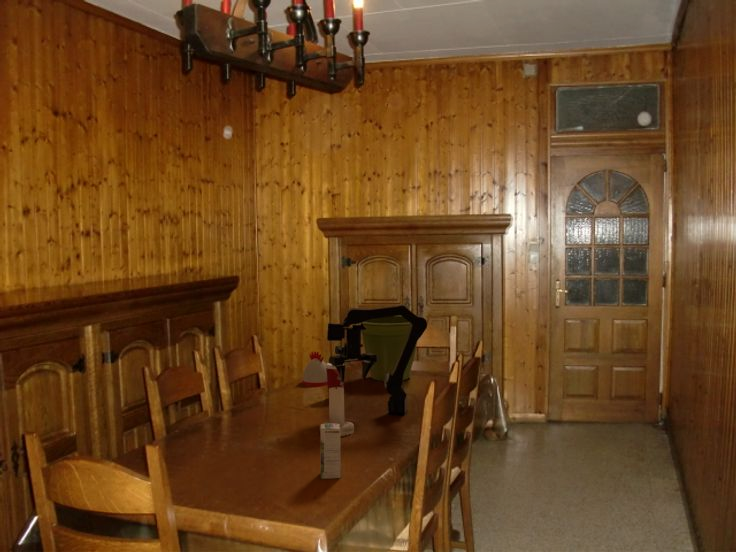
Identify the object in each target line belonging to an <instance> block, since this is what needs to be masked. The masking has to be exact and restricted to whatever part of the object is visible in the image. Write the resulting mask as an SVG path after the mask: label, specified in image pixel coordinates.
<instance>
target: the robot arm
mask: <svg viewBox="0 0 736 552" xmlns="http://www.w3.org/2000/svg"><path fill="white" fill-rule="evenodd" d="M345 316H346V317H345V318H344V319H343V320H342V322H341V323H333V322H328V323H327V330H326V331H327V332H326V340H327V342H342V341H343V340H344V339H345V338H346V340H345V342H344V344H343V346H341V345H336V346H334V349H335V350H334V355H330V356H329V358H328V363H330V364H332V365H333V366H335V367H336V369H337V371H338V373H339V376H340V379H341V382H343V383H344V382H345V373H346V365H345V363H350V362H351V363H352V362H360V361H361V365H362V367H361V368H362V371H361V378H362V381H365V380H366V378H367V376H368V373H369V372H370V368H371V367H372V365H373V364H375V363H374V362H378V357H377V355H376V354H373V353H366V352H364V353H362V348H363V346H364V343H362V332H361V330H366V327H365V326H364V325H363V323H362V322H365V321H367V320H370V319H375V318H383V317H391V316H402V317H404V318H405V319H406V320H407V321H409V322H410V325H409V331H408V337H407V339H406V342H405V344H404V347H403V349H402V351H401V354H400V356H399V359H398V361H397V363H396V366H395V368H394V370H393V371H392V372H391V373H390V372H387V376H386V378H385V380H384V381H383V382H384V388H385V390H386V392H387V394H388V395H390V396H389V399H388V401H387V415H395V416H404V415H406V414H407V413H408V412H409V410H408V405H407V404H408V402H407V398H408V397H407V395H408V394H407V392H406V391H405V389H404V388H403V387H402V385H403V381H404V380H403V375H404V372H405V369H406V367H407V365H408V362H409V360H410V357H411V355H412V352H413V350H414V348H415V345H416V343H417V344H418V341H419V340H420V338H421V337H422V336H423V334H424V333H425V332H426V330H427V328H428V321H427V320H426V318H424V317H423V316H422V315H418V314H417V315H416V314H414V313H413V312H412V311H411V310H410V309H408V308H407V307H406V305H404V304H398V305H392V306H383V307H377V308H376V307H375V308H364V307H363V308H361V307H350V308H349V309H348V310H347V312H346V315H345ZM345 332H346V333H345ZM343 364H344V365H343Z"/></svg>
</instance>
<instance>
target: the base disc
mask: <svg viewBox="0 0 736 552" xmlns="http://www.w3.org/2000/svg"><path fill="white" fill-rule="evenodd" d="M328 423H330V421H325V422H322V424H328ZM354 432H355V424H353V422H352V421H351V422H350V421H345V420H344V426H342V427H340V437H346V436H350V435H353V433H354ZM319 433H320V434H321V424H319ZM349 434H350V435H349ZM345 435H346V436H345Z"/></svg>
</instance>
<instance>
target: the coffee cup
mask: <svg viewBox="0 0 736 552" xmlns="http://www.w3.org/2000/svg"><path fill="white" fill-rule="evenodd" d="M343 365H345V363H344V364H343ZM325 368H326V371H327V385H326V386H327V394H328V395H327V396H328V398H329V388H332V387H336V386H337V387H342V388H344V382H341V379H340V376H339V373H338V371H337V369H336V367H335V366H333V365H332V364H330V363H329V362H327V363H326V367H325Z"/></svg>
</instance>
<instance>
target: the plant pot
mask: <svg viewBox="0 0 736 552" xmlns="http://www.w3.org/2000/svg"><path fill="white" fill-rule="evenodd" d="M362 323H363V325H364V326H365V327H366V330H361V337H362V340H363V346H364V351H365V352H364V353H373V354H376V355H377V357H378V362H374V363H375V364H373V365H372V367H371V368H370V370H369V372H370V378H372V379H373V380H375V381H379V382H384V380H385V378H386V376H387V372H390V373H391V372H392V371H393V370H394V368H395V366H396V363H397V361H398V359H399V356H400V354H401V351H402V349H403V347H404V344H405V342H406V339H407V337H408V331H409V325H410V322H409V321H407V320H406V319H405V318H404V317H402V316H400V315H399V316H391V317H383V318H375V319H370V320H367V321H365V322H362ZM417 345H418V342H417V343H416V345H415V348H414V350H413V352H412V355H411V357H410V360H409V362H408V365H407V367H406V369H405V372H404V375H403V381H407V380H408V378H409V379H410V378H411V372H412V367H413V364H414V359H415V356H416V350H417Z"/></svg>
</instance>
